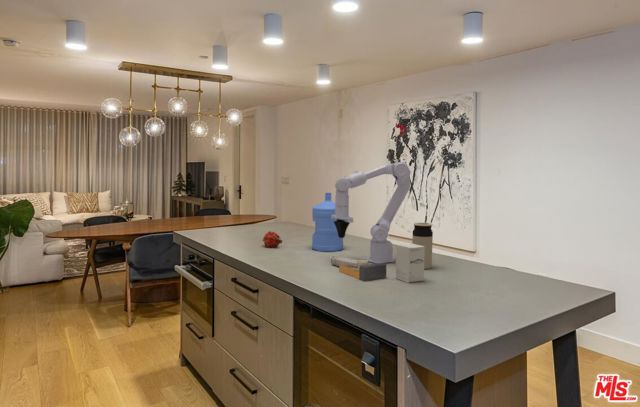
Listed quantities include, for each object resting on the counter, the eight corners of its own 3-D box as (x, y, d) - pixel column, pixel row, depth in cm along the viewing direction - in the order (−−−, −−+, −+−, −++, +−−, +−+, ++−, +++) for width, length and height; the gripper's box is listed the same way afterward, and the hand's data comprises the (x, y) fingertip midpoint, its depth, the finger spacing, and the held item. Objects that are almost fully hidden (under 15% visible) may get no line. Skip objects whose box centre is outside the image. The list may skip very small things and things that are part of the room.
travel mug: (435, 267, 178) (436, 223, 177) (425, 270, 172) (426, 225, 171) (418, 264, 184) (419, 222, 182) (407, 267, 178) (409, 223, 176)
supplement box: (408, 283, 153) (409, 247, 152) (395, 278, 159) (396, 244, 158) (424, 280, 156) (425, 246, 155) (411, 276, 163) (411, 243, 162)
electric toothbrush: (340, 255, 183) (373, 257, 161) (341, 270, 183) (374, 276, 161) (329, 256, 181) (361, 259, 159) (330, 272, 181) (362, 277, 158)
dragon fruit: (267, 247, 228) (278, 254, 218) (256, 239, 223) (267, 246, 213) (276, 234, 229) (288, 240, 220) (265, 226, 224) (277, 232, 215)
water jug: (348, 248, 220) (349, 192, 217) (333, 253, 206) (333, 194, 204) (322, 245, 228) (323, 191, 226) (305, 249, 215) (306, 193, 213)
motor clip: (359, 268, 175) (359, 256, 174) (386, 277, 160) (386, 264, 160) (338, 271, 170) (338, 258, 169) (364, 281, 155) (364, 267, 155)
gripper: (325, 205, 190) (324, 235, 191) (343, 207, 178) (342, 240, 179) (338, 204, 194) (338, 234, 195) (357, 207, 181) (357, 239, 182)
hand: (341, 237), depth 187 cm, fingers closed
